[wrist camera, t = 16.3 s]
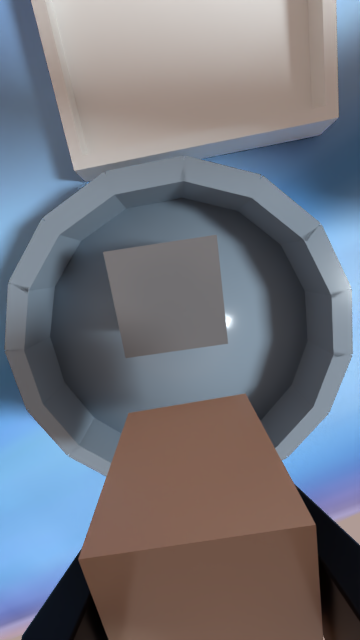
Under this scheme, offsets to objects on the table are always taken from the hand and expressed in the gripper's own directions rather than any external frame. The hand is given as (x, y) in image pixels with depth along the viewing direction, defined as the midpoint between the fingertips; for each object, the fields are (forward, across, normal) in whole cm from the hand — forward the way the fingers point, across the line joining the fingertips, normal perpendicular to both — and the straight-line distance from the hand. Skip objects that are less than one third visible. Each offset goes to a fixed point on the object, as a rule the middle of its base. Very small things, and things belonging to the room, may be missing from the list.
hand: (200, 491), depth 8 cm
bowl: (+8, 0, -3) cm, 9 cm away
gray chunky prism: (+8, 0, -6) cm, 10 cm away
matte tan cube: (+2, 0, 0) cm, 2 cm away
